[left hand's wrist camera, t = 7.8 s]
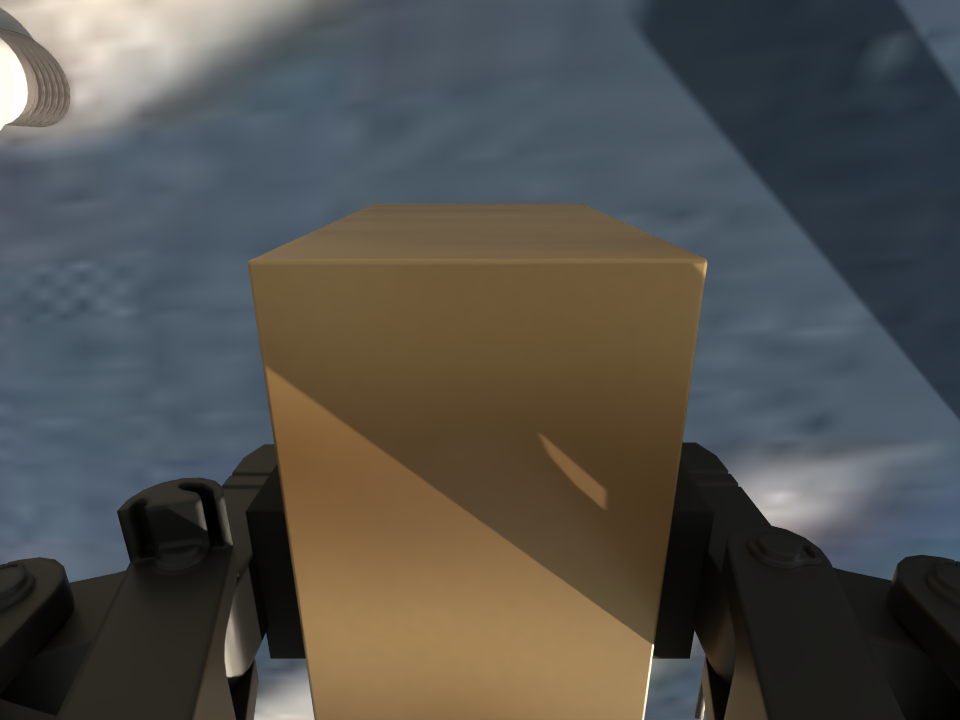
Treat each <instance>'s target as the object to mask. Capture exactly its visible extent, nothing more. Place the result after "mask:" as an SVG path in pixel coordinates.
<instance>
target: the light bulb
mask: <svg viewBox="0 0 960 720" xmlns="http://www.w3.org/2000/svg"><path fill="white" fill-rule="evenodd" d="M69 104H70V89H69V85H68V82H67V79H66V76H65V74H64V72H63V70H62V68H61V67H60V65H59V64H58V62H57V61H56V60H55V58H54V57H53V56H52V55H51V54H50V53H49V52H48V51H47V50H46V49H45V48H44V47H42V46H41V45H40V44H38V43H37V42H36V41H34V40H33V39H31V38H29V37H26V36H24V35H22V34H20V33H16V32H12V31H9V30H4V29H1V28H0V130H1V129H2V127H3V126H4V125H15V126H30V127H46V126H50V125H53V124H55V123H57V122H58V121H60V120H61V119H62V118H63V117H64V116H65V114H66V112H67V111H68V108H69Z"/></svg>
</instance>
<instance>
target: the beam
mask: <svg viewBox="0 0 960 720" xmlns="http://www.w3.org/2000/svg"><path fill="white" fill-rule="evenodd" d="M248 267H249V273H250V280H251V287H252V294H253V301H254V308H255V314H256V321H257V328H258V335H259V342H260V349H261V356H262V362H263V369H264V376H265V383H266V390H267V397H268V403H269V410H270V417H271V424H272V431H273V438H274V444H275V451H276V458H277V465H278V472H279V479H280V486H281V492H282V499H283V506H284V513H285V520H286V527H287V533H288V540H289V547H290V554H291V561H292V568H293V574H294V581H295V588H296V595H297V602H298V609H299V616H300V622H301V629H302V636H303V643H304V650H305V657H306V663H307V670H308V677H309V684H310V691H311V698H312V704H313V711H314V718H315V720H644V715H645V708H646V701H647V694H648V687H649V679H650V672H651V665H652V658H653V650H654V643H655V636H656V629H657V622H658V614H659V607H660V600H661V593H662V586H663V578H664V571H665V564H666V557H667V549H668V542H669V535H670V528H671V521H672V513H673V506H674V499H675V492H676V485H677V477H678V470H679V463H680V456H681V448H682V441H683V434H684V427H685V420H686V412H687V405H688V398H689V391H690V384H691V376H692V369H693V362H694V355H695V347H696V340H697V333H698V326H699V319H700V311H701V304H702V297H703V290H704V282H705V275H706V268H707V261H706V259H704V258H702V257H700V256H698V255H695V254H693V253H691V252H689V251H686V250H684V249H682V248H680V247H677V246H675V245H673V244H671V243H669V242H666V241H664V240H662V239H660V238H657V237H655V236H653V235H651V234H648V233H646V232H644V231H642V230H640V229H637V228H635V227H633V226H631V225H628V224H626V223H624V222H622V221H619V220H617V219H615V218H613V217H611V216H608V215H606V214H604V213H602V212H599V211H597V210H595V209H593V208H590V207H588V206H586V205H584V204H582V203H496V204H372V205H370V206H368V207H366V208H364V209H361V210H359V211H357V212H355V213H353V214H350V215H348V216H346V217H344V218H342V219H340V220H337V221H335V222H333V223H331V224H329V225H326V226H324V227H322V228H320V229H318V230H316V231H313V232H311V233H309V234H307V235H305V236H302V237H300V238H298V239H296V240H294V241H291V242H289V243H287V244H285V245H283V246H281V247H278V248H276V249H274V250H272V251H270V252H267V253H265V254H263V255H261V256H259V257H256V258H254V259H252V260H250V261H249V264H248Z"/></svg>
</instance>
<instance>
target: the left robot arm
mask: <svg viewBox="0 0 960 720" xmlns="http://www.w3.org/2000/svg"><path fill="white" fill-rule="evenodd" d="M117 513H118V517H119V521H120V525H121V528H122V532H123V536H124V540H125V543H126V547H127V551H128V555H129V558H130V564H129V566H128V568H127V570H126V571H122V572H119V573H115V574H110V575H105V576H101V577H96V578H91V579H86V580H82V581H77V582H72V583H69V581H68V578H67V575H66V572H65V569H64V566H62V565H61V564H60V563H59V562H58V561H56V560H54V559H47V558H40V557H39V558H31V559H23V560H17V561H13V562H8V563H7V564H2V565H0V720H254V713H255V705H256V697H257V689H258V674H257V667H256V662H255V655H256V653H257V651H258V649H259V647H260V644H261V642H262V640H263V638H264V635H265V633H266V634H267V640H268V645H269V651H270V657H271V658H306V657H305V650H304V643H303V636H302V629H301V622H300V616H299V609H298V602H297V595H296V588H295V581H294V574H293V568H292V561H291V554H290V547H289V540H288V533H287V527H286V520H285V513H284V506H283V499H282V492H281V486H280V479H279V472H278V465H277V458H276V451H275V444H265V445H263V446H262V447H260V448H258V449H257V450H255V451H254V452H252V453H251V454H249V455H247V456H246V457H244V459H243V460H242V461H241V462H240V464H239V465H238V466H237V468H236V469H235V470H234V471H233V474H232V476H230V477H229V478H228V479H227V480H226V482H225V483H224V484H223V487H222V486H221V485H219V484H218V483H217V482H216V481H213V480H209V479H204V478H182V479H177V480H173V481H168V482H163V483H161V484H158V485H155V486H153V487H150V488H148V489H145V490H143V491H141V492H140V493H138V494H136V495H135V496H133V497H132V498H130V499H128V500H127V501H126V502H125V503H124V504H123V505H122V506H121V508H120V509H119V510H118V511H117ZM694 630H695V632H696V634H697V636H698V638H699V641H700V643H701V645H702V647H703V650H704V652H705V654H706V656H705V662H704V667H703V673H702V678H701V683H700V689H699V694H698V699H697V705H696V712H695V718H697V719H702V720H703V715H704V710H705V711H706V719H707V720H960V562H958V561H957V562H956V561H954V560H951V559H947V558H942V557H934V556H926V555H918V556H910V557H906V558H904V559H903V560H902V561H901V562H899V563H898V564H897V567H896V570H895V573H894V576H893V580H892V581H891V580H886V579H881V578H876V577H872V576H867V575H862V574H857V573H853V572H848V571H844V570H840V569H836V568H833V567H832V565H831V563H830V561H829V560H828V558H827V557H826V556H825V555H824V553H823V552H822V551H821V549H820V548H818V547H817V546H815V545H814V544H813V543H811V542H810V541H809V540H807V539H806V538H804V537H802V536H800V535H797V534H795V533H793V532H791V531H789V530H786V529H782V528H778V527H774V526H771V525H770V523H769V522H768V521H767V520H766V518H765V517H764V516H763V514H762V513H761V512H760V511H759V509H758V508H757V507H756V506H755V504H754V503H753V502H752V501H751V499H750V498H749V497H748V495H747V494H746V493H745V492H744V490H743V489H742V488H741V487H738V483H737V481H736V480H735V479H734V478H733V476H732V475H731V474H728V470H727V469H726V467H725V466H724V465H723V464H722V462H721V461H720V460H719V459H718V457H717V456H716V455H714V454H713V453H711V452H710V451H708V450H707V449H705V448H703V447H702V446H700V445H699V444H697V443H682V448H681V456H680V463H679V470H678V477H677V485H676V492H675V499H674V506H673V513H672V521H671V528H670V535H669V542H668V549H667V557H666V564H665V571H664V578H663V586H662V593H661V600H660V607H659V614H658V622H657V629H656V636H655V643H654V650H653V658H652V659H690V653H691V647H692V642H693V636H694Z"/></svg>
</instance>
